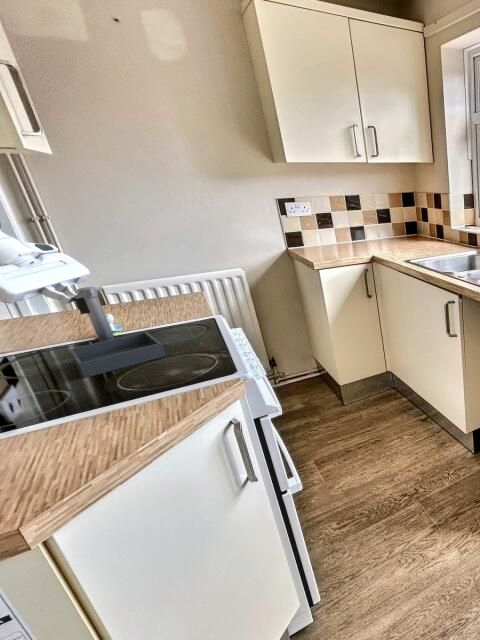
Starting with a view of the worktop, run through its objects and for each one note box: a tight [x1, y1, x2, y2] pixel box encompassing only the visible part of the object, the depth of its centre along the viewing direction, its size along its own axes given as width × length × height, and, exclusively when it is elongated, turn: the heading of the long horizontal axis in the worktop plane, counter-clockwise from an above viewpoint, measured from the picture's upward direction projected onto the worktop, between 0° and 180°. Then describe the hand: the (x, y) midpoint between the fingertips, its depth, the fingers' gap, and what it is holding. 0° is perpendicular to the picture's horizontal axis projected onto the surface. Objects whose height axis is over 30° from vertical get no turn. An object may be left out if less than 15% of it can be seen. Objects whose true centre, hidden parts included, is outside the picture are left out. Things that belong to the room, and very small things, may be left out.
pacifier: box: [94, 313, 123, 339], centre depth 120 cm, size 7×6×6 cm
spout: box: [74, 286, 99, 315], centre depth 104 cm, size 3×13×4 cm, turn 37°
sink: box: [68, 331, 167, 379], centre depth 105 cm, size 15×14×4 cm
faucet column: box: [87, 296, 116, 342], centre depth 110 cm, size 6×6×14 cm
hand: (73, 300), depth 101 cm, fingers closed
